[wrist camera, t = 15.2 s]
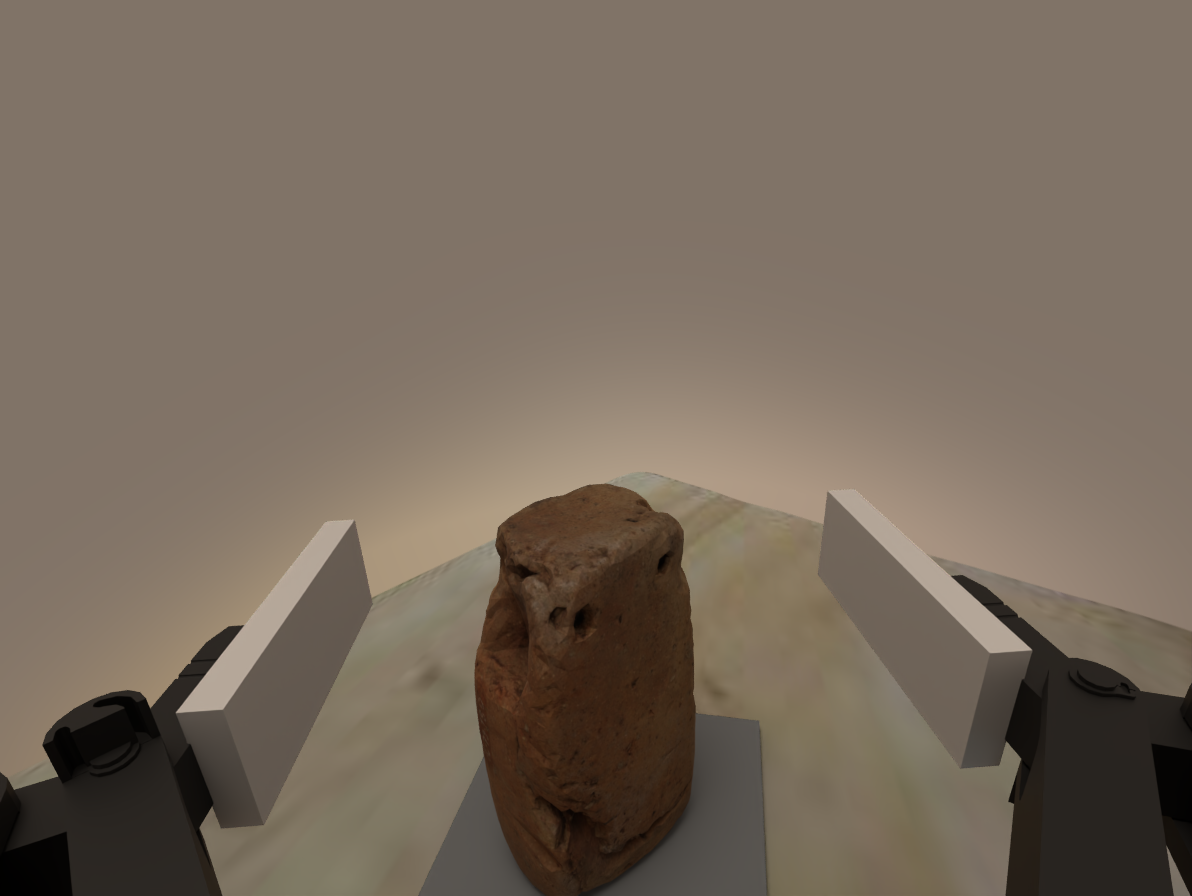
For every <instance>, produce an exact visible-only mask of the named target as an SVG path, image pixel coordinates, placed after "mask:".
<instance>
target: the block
mask: <svg viewBox="0 0 1192 896" xmlns="http://www.w3.org/2000/svg"><path fill="white" fill-rule="evenodd" d="M683 543H684V532H683V529H682V527H681V525H680V524H679V522H678V521H677V520H676V519H675V518H673V517H672V516H671V515H669V514H668V513H662V512H661V513H658V512H655V511H654V510H653V509H652V508H651V507H650V505H649V504H648V503H647V501H646V500H645V499H644V498H643V497H641V496H640V495H639V494H637V493H636V492H634V491H631V490H629V489H626V488H623V487H617V486H614V485H610V484H596V485H587V486H585V487H581V488H579V489H577V490H574V491H572V492H570V493H568V494H566V495H563V496H556V497H550V498H547V499H543V500H541V501H537V502H534V503H533V504H531V505H529V506H527V507H525V508H524V509H522V510H521V511H519V512H518V513H516V514H514V515H512V516H511V517H509V518H508V519H507V520H506V521H505V522H503V523H502V524H501V525H500V526H499V527H498V532H497V538H496V544H495V546H496V549H497V552H498V554H499V556H500V558H501V559H500V574H499V581H498V583H497V585H496V586H495V588H494V589H493V591H492V593H491V596H490V599H489V605H488V607H487V610H486V618H485V622H484V626H483V631H482V637H481V643H480V645H479V647H478V649H477V655H476V661H475V695H476V706H477V713H478V721H479V729H480V734H481V739H482V744H483V752H484V758H485V764H486V770H487V774H488V778H489V784H490V789H491V794H492V798H493V802H494V806H495V809H496V813H497V817H498V820H499V823H500V826H501V829H502V832H503V835H504V838H505V840H506V842H507V844H508V846H509V848H510V850H511V853H512V855H513V857H514V858H515V860H516V862H517V864H518V866H519V868H520V869H521V870H522V872H523V873H524V874H525V876H526V877H527V878H528V879H529V881H530V882H531V883H532V885H534V886H535V887H537V888H538V889H539V890H540V891H541V892H543V893H544V894H545V895H546V896H577V895H579V894H580V893H581V892H587V891H589V890H591V889H593V888H596V887H598V886H600V885H602V884H605V883H608V882H610V881H612V880H614V879H615V878H616V877H618V876H619V875H621V874H622V873H624V872H625V871H626V870H627V869H629V868H630V867H631V866H632V865H634V864H635V863H636V862H638V861H639V860H640V859H641V858H643V857H644V856H645V855H646V854H648V853H649V852H650V851H652V850H653V848H654V847H655V846H656V845H657V844H658V843H659V842H660V841H661V840H662V839H663V838H664V837H665V836H666V834H667V833H668V832H669V831H670V830H671V829H672V827H673V825H674V824H675V822H676V821H677V819H678V818H679V817H680V816H681V815H682V813H683V812H684V810H685V808H686V806H687V804H688V802H689V799H690V795H691V786H692V777H693V768H694V757H695V722H696V706H695V701H694V695H693V690H694V654H693V646H694V643H693V628H692V623H691V619H690V616H691V606H690V589H689V586H688V583H687V580H686V576H685V573H684V571H683V569H682V568H681V560H682V554H683Z"/></svg>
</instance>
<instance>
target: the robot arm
mask: <svg viewBox="0 0 1192 896" xmlns="http://www.w3.org/2000/svg"><path fill="white" fill-rule="evenodd" d="M818 575H819V576H820V578H821V579H822V581H823V582H824V583H825V585H826V586H827V587H828V589H829V590H830V591H831V593H832V594H833V596H834V597H835V598H836V600H837V601H838V602H839V604H840V605H841V606H842V608H843V609H844V611H845V612H846V613H847V615H848V616H849V617H850V619H851V620H852V621H853V623H854V624H855V626H856V627H857V628H858V630H859V631H860V632H861V634H862V635H863V636H864V638H865V639H866V640H867V642H868V643H869V645H870V646H871V647H872V649H873V650H874V651H875V653H876V654H877V655H878V657H879V658H880V660H881V661H882V662H883V664H884V665H885V666H886V668H887V669H888V670H889V672H890V673H891V675H892V676H893V677H894V679H895V680H896V681H897V683H898V684H899V685H900V687H901V688H902V690H903V691H904V692H905V694H906V695H907V696H908V698H909V699H910V700H911V702H912V703H913V705H914V706H915V707H916V709H917V710H918V711H919V713H920V714H921V715H922V717H923V718H924V719H925V721H926V722H927V724H928V725H929V726H930V728H931V729H932V730H933V732H934V733H935V734H936V736H937V737H938V739H939V740H940V741H941V743H942V744H943V745H944V747H945V748H946V749H947V751H948V752H949V754H950V755H951V756H952V758H953V759H954V760H955V762H956V763H957V764H958V766H959V767H960V769H961V768H973V767H985V766H998V765H999V764H1000V761H1001V757H1002V754H1003V750H1004V747H1005V743H1006V741H1007V742H1008V743H1009V745H1010V746H1011V747H1012V748H1013V749H1014V750H1015V752H1016V753H1017V754H1018V755H1019V756H1020V757H1021V761H1020V765H1019V768H1018V771H1017V775H1016V778H1015V781H1014V784H1013V788H1012V791H1011V794H1010V797H1009V801H1008V802H1011V803H1013V804H1014V812H1013V822H1012V833H1011V844H1010V854H1009V865H1008V876H1007V886H1006V896H1174V895H1173V888H1172V881H1171V874H1170V868H1169V861H1168V854H1167V848H1166V845H1167V847H1168V849H1169V851H1170V853H1171V856H1172V858H1173V860H1174V862H1175V864H1176V866H1177V868H1178V870H1179V872H1180V875H1181V877H1182V879H1183V881H1184V883H1185V885H1186V887H1187V889H1188V891H1189V893H1190V896H1192V684H1191V685H1190V687H1189V689H1188V691H1187V694H1186V696H1185V698H1182V697H1176V696H1169V695H1163V694H1156V693H1150V692H1143V691H1140V689H1139V688H1138V687H1136V686H1135V685H1134V684H1133V683H1132V682H1131V681H1130V680H1129V679H1128V678H1126V677H1124V676H1123V675H1121V674H1119V673H1118V672H1116V671H1114V670H1113V669H1111V668H1108V667H1106V666H1103V665H1101V664H1098V663H1096V662H1092V661H1088V660H1083V659H1079V658H1068V657H1067V656H1066V655H1064V654H1063V653H1062V652H1061V651H1060V650H1059V649H1057V648H1056V647H1055V646H1054V645H1053V644H1052V643H1050V642H1049V641H1048V640H1047V639H1046V638H1045V637H1043V636H1042V635H1041V634H1040V633H1039V632H1038V631H1036V630H1035V629H1034V628H1033V627H1032V626H1031V625H1029V624H1028V623H1027V622H1026V621H1025V620H1024V619H1022V618H1018V614H1017V613H1015V612H1014V611H1013V610H1012V609H1011V608H1010V607H1008V606H1007V605H1004V604H1003V601H1001V600H1000V599H999V598H998V597H997V596H996V595H994V594H993V593H992V592H991V591H990V590H988V589H987V588H986V587H984V586H982V585H980V584H978V583H977V582H975V581H973V580H971V579H969V578H967V577H965V576H963V575H958V576H950V575H949V574H948V573H947V572H945V571H944V570H943V569H942V568H941V567H940V566H939V565H938V564H937V563H935V562H934V561H933V560H932V559H931V558H930V557H929V556H928V555H927V554H925V553H924V552H923V551H922V550H921V549H920V548H919V547H918V546H917V545H916V544H914V543H913V542H912V541H911V540H910V539H909V538H908V537H907V536H905V534H903V533H902V532H901V531H900V530H899V529H898V528H897V527H896V526H895V525H893V524H892V523H891V522H890V521H889V520H888V519H887V518H886V517H885V516H884V515H882V514H881V513H880V512H879V511H878V510H877V509H876V508H875V507H874V506H872V505H871V504H870V503H869V502H868V501H867V500H866V499H865V498H864V497H862V496H861V495H860V494H859V493H858V492H857V491H856V490H855V489H848V490H832V491H828V492H827V500H826V509H825V517H824V526H823V535H822V543H821V552H820V560H819V569H818ZM372 604H373V603H372V599H371V594H370V590H369V585H368V580H367V575H366V571H365V566H364V561H363V556H362V552H361V547H360V542H359V538H358V534H357V529H356V524H355V520H342V521H326V522H325V523H324V525H323V526H322V527H321V529H320V530H319V531H318V532H317V534H316V535H315V536H314V537H313V539H312V540H311V541H310V543H309V544H308V545H307V546H306V548H305V549H304V550H303V551H302V553H301V554H300V555H299V557H298V558H297V559H296V560H295V562H294V563H293V564H292V565H291V567H290V568H289V569H288V571H287V572H286V573H285V574H284V576H283V577H282V578H281V580H280V581H279V582H278V583H277V585H276V586H275V587H274V588H273V590H272V591H271V592H270V593H269V595H268V596H267V597H266V599H265V600H264V602H262V604H261V605H260V606H259V607H258V609H257V610H256V611H255V613H254V614H253V615H252V617H251V618H250V619H249V620H248V622H247V623H246V624H245V625H242V626H229V627H227V628H226V629H224V630H223V631H222V632H220V633H219V634H217V635H216V636H215V637H213V638H212V639H211V640H209V641H208V642H206V644H205V645H204V646H203V647H202V648H201V649H200V651H199V652H198V653H197V654H196V655H195V657H194V658H193V659H192V660H191V664H188V665H187V666H186V667H185V668H184V670H183V671H182V672H181V673H180V674H179V678H178V679H175V680H174V681H173V683H172V684H171V685H170V686H169V687H168V688H167V690H166V691H165V692H164V693H163V694H162V696H161V697H160V698H159V699H158V700H157V701H156V703H155V704H154V705H153V706H152V707H151V709H150V707H149V705H148V702H147V700H146V698H145V697H144V696H143V695H142V694H141V693H140V692H136V691H130V690H127V691H119V692H112V693H109V694H106V695H103V696H100V697H97V698H94V699H92V700H90V701H88V702H86V703H84V704H82V705H80V706H78V707H76V708H75V709H73V710H72V711H70V712H69V713H68V714H66V715H65V716H63V717H62V718H61V719H59V720H58V721H57V722H56V723H55V724H54V725H53V727H52V728H51V729H50V730H49V731H48V732H47V734H46V736H45V739H44V742H43V747H44V749H45V751H46V753H47V755H48V757H49V759H50V761H51V763H52V765H53V767H54V769H55V771H56V772H57V774H58V776H59V777H55V778H52V779H49V780H45V781H42V782H39V783H36V784H32V785H29V786H26V787H22V788H19V789H16V790H14V789H13V787H12V786H11V784H10V782H9V780H8V778H7V777H5V776H4V775H3V774H2V773H0V896H222V893H221V890H220V887H219V884H218V881H217V878H216V875H215V872H214V868H213V865H212V862H211V859H210V856H209V853H208V850H207V847H206V844H205V841H204V838H203V835H202V833H201V831H200V828H199V827H200V826H201V824H202V822H203V821H204V819H205V817H206V816H207V814H208V812H209V811H210V809H211V807H213V809H214V812H215V814H216V817H217V819H218V822H219V824H220V827H221V828H233V827H245V826H258V825H264V824H265V822H266V820H267V818H268V816H269V814H270V812H271V809H272V807H273V805H274V803H275V801H276V799H277V797H278V795H279V793H280V791H281V789H282V787H283V785H284V783H285V781H286V779H287V777H288V775H289V773H290V771H291V769H292V767H293V765H294V763H295V761H296V759H297V757H298V755H299V753H300V751H301V749H302V747H303V745H304V742H305V740H306V738H307V736H308V734H309V732H310V730H311V728H312V726H313V724H314V722H315V720H316V718H317V716H318V714H319V712H320V710H321V708H322V706H323V704H324V702H325V700H326V698H327V696H328V694H329V692H330V690H331V688H332V686H333V684H334V682H335V680H336V678H337V675H338V673H339V671H340V669H341V667H342V665H343V663H344V661H345V659H346V657H347V655H348V653H349V651H350V649H351V647H352V645H353V643H354V641H355V639H356V637H357V635H358V633H359V631H360V629H361V627H362V625H363V623H364V621H365V619H366V617H367V615H368V613H369V611H370V608H371V606H372Z"/></svg>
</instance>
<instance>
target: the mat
mask: <svg viewBox="0 0 1192 896" xmlns="http://www.w3.org/2000/svg"><path fill="white" fill-rule="evenodd" d="M418 896H546V895H545V894H544V893H543V892H541V891H540V890H539V889H538V888H537V887H535V886H534V885H532V883H531V882H530V881H529V879H528V878H527V877H526V876H525V874H524V873H523V872H522V870H521V869H520V868H519V866H518V864H517V862H516V860H515V858H514V857H513V855H512V853H511V850H510V848H509V846H508V844H507V842H506V840H505V838H504V835H503V832H502V829H501V826H500V823H499V820H498V817H497V813H496V809H495V806H494V802H493V798H492V794H491V789H490V784H489V778H488V774H487V770H486V764H485V758H484V757H483V759H482V761H481V763H480V766H479V768H478V770H477V772H476V774H475V776H474V778H473V780H472V783H471V785H470V787H469V789H468V791H467V793H466V795H465V797H464V800H463V802H462V804H461V806H460V808H459V810H458V812H457V814H456V817H455V819H454V821H453V823H452V825H451V827H450V829H449V831H448V834H447V836H446V838H445V840H444V842H443V844H442V846H441V848H440V851H439V853H438V855H437V857H436V859H435V861H434V863H433V865H432V868H431V870H430V872H429V874H428V876H427V878H426V880H425V882H424V885H423V887H422V889H421V891H420V893H419V895H418ZM577 896H767V885H766V863H765V840H764V818H763V795H762V773H761V750H760V728H759V721H755V720H747V719H739V718H731V717H722V716H714V715H706V714H697V713H696V722H695V757H694V768H693V777H692V786H691V795H690V799H689V802H688V804H687V806H686V808H685V810H684V812H683V813H682V815H681V816H680V817H679V818H678V819H677V821H676V822H675V824H674V825H673V827H672V829H671V830H670V831H669V832H668V833H667V834H666V836H665V837H664V838H663V839H662V840H661V841H660V842H659V843H658V844H657V845H656V846H655V847H654V848H653V850H652V851H650V852H649V853H648V854H646V855H645V856H644V857H643V858H641V859H640V860H639V861H638V862H636V863H635V864H634V865H632V866H631V867H630V868H629V869H627V870H626V871H625V872H624V873H622V874H621V875H619V876H618V877H616V878H615V879H614V880H612V881H610V882H608V883H605V884H602V885H600V886H598V887H596V888H593V889H591V890H589V891H587V892H581V893H580V894H579V895H577Z"/></svg>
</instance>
